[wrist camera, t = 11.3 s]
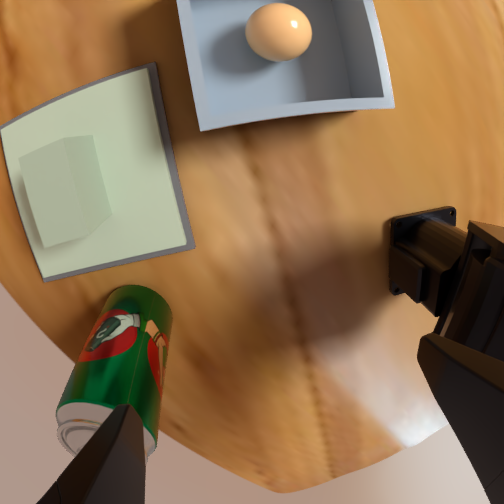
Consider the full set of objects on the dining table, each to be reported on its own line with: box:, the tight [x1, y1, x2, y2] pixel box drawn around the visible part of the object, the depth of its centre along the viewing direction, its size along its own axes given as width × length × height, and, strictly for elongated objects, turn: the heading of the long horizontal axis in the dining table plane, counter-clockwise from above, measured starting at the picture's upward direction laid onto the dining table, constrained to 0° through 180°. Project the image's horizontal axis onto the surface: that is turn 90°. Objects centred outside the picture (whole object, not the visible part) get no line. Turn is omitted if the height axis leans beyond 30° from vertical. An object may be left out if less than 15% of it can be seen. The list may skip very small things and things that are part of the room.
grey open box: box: [176, 0, 395, 132], centre depth 14 cm, size 10×10×4 cm
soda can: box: [56, 285, 173, 465], centre depth 16 cm, size 5×5×12 cm
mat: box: [0, 62, 196, 282], centre depth 17 cm, size 12×12×1 cm
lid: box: [1, 68, 187, 278], centre depth 15 cm, size 11×11×5 cm
